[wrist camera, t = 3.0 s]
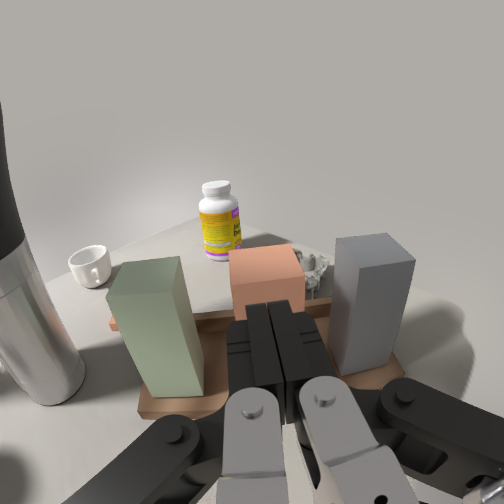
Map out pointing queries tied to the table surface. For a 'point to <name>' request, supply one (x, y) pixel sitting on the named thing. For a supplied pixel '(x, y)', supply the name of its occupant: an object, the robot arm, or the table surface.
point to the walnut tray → (216, 367)
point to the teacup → (91, 266)
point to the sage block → (159, 326)
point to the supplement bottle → (219, 220)
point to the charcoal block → (367, 300)
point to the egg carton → (309, 265)
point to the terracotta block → (266, 277)
